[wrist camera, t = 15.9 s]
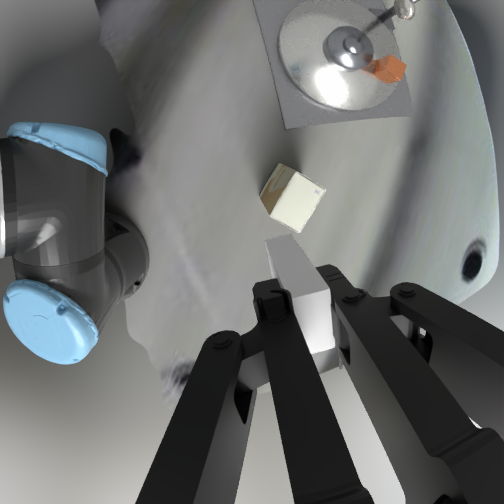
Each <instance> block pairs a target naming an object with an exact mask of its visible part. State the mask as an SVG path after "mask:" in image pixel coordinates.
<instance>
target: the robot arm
mask: <svg viewBox="0 0 504 504" xmlns="http://www.w3.org/2000/svg"><path fill="white" fill-rule="evenodd" d="M7 137H8V138H2V139H0V258H4V257H8V256H11V255H12V260H13V267H14V273H15V281H14V282H12V283H11V284H10V285H9V286H8V289H7V293H6V294H5V296H4V300H3V308H4V313H5V316H6V319H7V321H8V324H9V326H10V327H11V329H12V331H13V332H14V334H15V335H16V336H17V338H18V339H19V340H20V341H21V342H22V343H23V344H24V345H25V346H27V347H28V348H29V349H30V350H31V351H32V352H34V353H35V354H37V355H38V356H40V357H42V358H44V359H46V360H48V361H51V362H54V363H58V364H73V363H76V362H79V361H80V360H82V359H83V358H84V357H85V356H86V355H87V354H88V353H89V351H90V350H91V349H92V347H93V346H95V344H96V343H97V341H98V337H99V335H100V333H101V331H102V329H103V328H104V326H105V324H106V322H107V320H108V319H109V317H110V315H111V314H112V312H113V310H114V308H115V307H116V305H117V303H119V302H121V301H123V300H125V299H127V298H129V297H130V296H132V295H133V294H134V293H135V292H136V291H137V290H138V289H139V288H140V286H141V284H142V283H143V281H144V279H145V277H146V275H147V272H148V267H149V253H148V249H147V245H146V242H145V240H144V238H143V236H142V235H141V233H140V232H139V230H138V229H137V228H136V227H135V226H134V225H133V224H132V223H131V222H130V221H129V220H127V219H126V218H124V217H122V216H120V215H118V214H115V213H111V212H105V181H106V177H107V175H108V172H107V170H106V154H107V146H106V141H105V139H104V137H103V136H102V135H101V134H99V133H97V132H96V131H93V130H90V129H86V128H82V127H78V126H72V125H65V124H57V123H45V122H44V123H38V122H35V123H34V122H18V123H14V124H12V125H11V126H10V128H9V131H8V132H7ZM265 245H266V250H267V254H268V259H269V264H270V269H271V274H272V278H273V279H270V280H266V281H262V282H257V283H255V285H254V287H253V289H252V290H253V295H254V300H253V304H254V308H255V312H256V316H257V320H258V323H257V325H256V326H255V327H254V328H253V329H252V330H251V331H249V332H247V333H246V334H243V335H241V336H240V335H239V334H238V333H237V332H235V331H228V330H225V331H220V332H217V333H215V334H212V335H211V336H210V337H208V338H207V339H206V341H205V342H204V344H203V346H202V348H201V351H200V353H199V355H198V358H197V360H196V362H195V365H194V367H193V369H192V371H191V374H190V376H189V378H188V381H187V383H186V385H185V388H184V390H183V392H182V395H181V397H180V399H179V402H178V404H177V406H176V409H175V411H174V413H173V416H172V418H171V420H170V423H169V425H168V427H167V430H166V432H165V434H164V437H163V439H162V441H161V444H160V446H159V448H158V451H157V453H156V455H155V458H154V461H153V463H152V465H151V468H150V470H149V473H148V474H147V477H146V479H145V482H144V484H143V487H142V489H141V491H140V493H139V496H138V498H137V501H136V503H135V504H234V503H235V498H236V493H237V489H238V485H239V480H240V475H241V471H242V466H243V461H244V456H245V451H246V446H247V441H248V436H249V431H250V426H251V421H252V415H253V411H254V406H255V400H256V395H257V388H258V387H260V386H262V385H264V384H266V383H268V382H270V385H271V390H272V395H273V400H274V405H275V410H276V415H277V420H278V425H279V430H280V435H281V440H282V445H283V450H284V455H285V460H286V464H287V469H288V473H289V479H290V483H291V488H292V493H293V498H294V503H295V504H374V501H373V499H372V497H371V495H370V493H369V491H368V490H367V489H366V488H364V487H363V486H362V484H361V482H360V480H359V477H358V474H357V472H356V469H355V466H354V464H353V461H352V458H351V456H350V453H349V450H348V448H347V445H346V442H345V440H344V437H343V435H342V432H341V429H340V427H339V424H338V422H337V419H336V417H335V414H334V411H333V409H332V406H331V404H330V401H329V399H328V396H327V393H326V391H325V388H324V386H323V383H322V381H321V378H320V376H319V373H318V370H317V368H316V365H315V363H314V360H313V358H312V355H311V354H313V353H317V352H320V351H324V350H328V349H331V348H334V347H335V341H334V338H335V339H336V341H337V343H338V353H339V367H340V369H341V368H342V363H343V364H344V366H345V368H346V370H347V372H348V374H349V376H350V378H351V380H352V382H353V384H354V386H355V388H356V390H357V392H358V394H359V396H360V399H361V401H362V403H363V405H364V407H365V409H366V411H367V413H368V415H369V417H370V419H371V421H372V424H373V425H374V427H375V430H376V432H377V434H378V436H379V438H380V440H381V442H382V445H383V447H384V449H385V451H386V453H387V456H388V457H389V460H390V462H391V464H392V466H393V469H394V471H395V473H396V475H397V477H398V480H399V482H400V484H401V486H402V489H403V491H404V494H405V498H406V504H504V332H503V331H502V330H500V329H498V328H496V327H495V326H493V325H491V324H490V323H488V322H486V321H484V320H483V319H481V318H479V317H477V316H476V315H474V314H472V313H470V312H468V311H466V310H465V309H463V308H461V307H459V306H457V305H456V304H454V303H452V302H450V301H448V300H446V299H444V298H442V297H441V296H439V295H437V294H435V293H433V292H431V291H429V290H427V289H425V288H424V287H422V286H420V285H417V284H415V283H409V282H404V283H400V284H397V285H395V286H393V287H392V288H391V290H390V296H388V297H375V298H373V297H372V296H371V295H370V294H369V293H368V292H367V291H365V290H363V289H359V288H354V287H353V285H352V284H351V283H350V282H349V281H348V280H347V278H346V277H345V276H344V275H343V274H342V273H341V271H340V270H339V269H338V268H337V267H335V266H332V265H330V264H328V265H324V266H320V267H316V268H315V267H314V265H313V264H312V262H311V261H310V260H309V258H308V257H307V255H306V254H305V253H304V251H303V250H302V248H301V247H300V246H299V244H298V243H297V241H296V240H295V239H294V237H293V236H292V235H291V234H290V235H285V236H281V237H277V238H272V239H268V240H265ZM420 327H421V328H423V329H424V330H426V335H425V336H424V335H422V334H420ZM469 417H470V418H471V419H472V420H473V421H474V422H476V423H477V424H478V425H479V426H480V427H482V428H481V429H479V428H477V427H476V426H475V425H474V424H473V423H472V422H471V420H470V419H469Z"/></svg>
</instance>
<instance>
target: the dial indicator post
mask: <svg viewBox="0 0 504 504" xmlns="http://www.w3.org/2000/svg"><path fill="white" fill-rule="evenodd" d="M418 1H419V0H395V2H394V6H393V7H391V8H390V9H388V10H382V9H373V8H369V10H370V12H371V13H373V14H374V15H375V16H376V17H377V18H378V19H379V20H381V21H382V23H383V24H384V25H385V26H386V27H387V28H388V29H392V30H394V29H395V28H394V25H393V22H392V19H391V17H393V16H394V15H396V14H397V16H398V17H399V18H401V19H405V20H411V19H412V18H413V17H414V15H415V5H414V3H416V2H418Z"/></svg>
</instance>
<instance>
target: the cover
mask: <svg viewBox="0 0 504 504" xmlns="http://www.w3.org/2000/svg"><path fill="white" fill-rule="evenodd" d="M323 53H324V56H325V58H326V59H327V61H328V62H329V63H330V64H331V65H332V66H333V67H335V68H336V69H338V70H340V71H344V72H354V71H357V70H359V69H361V68H363V67H365V66H367V65H368V64H369V63H370V62H371V61H372V59H373V56H374V49H373V45H372V43H371V41H370V39H369V38H368V37H367V36H366V35H365V34H364V33H363V32H362V31H360V30H359V29H357V28H354V27H351V26H340V27H338V28H336V29H334V30H333V31H332V32H331V33H330V34H329V35H328V36H327V37H326V38H325V40H324V42H323Z"/></svg>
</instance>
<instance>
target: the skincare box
mask: <svg viewBox="0 0 504 504" xmlns="http://www.w3.org/2000/svg"><path fill="white" fill-rule="evenodd" d="M325 191H326V189H325V188H324V187H322V186H321V185H319V184H318V183H316V182H315V181H313V180H311V179H310V178H308V177H306V176H305V175H303V174H301V173H299V172H298V171H296V170H294V169H292V168H290V167H287V166H285V165H283V164H281V163H279V164H278V165H277V167H276V168H275V170H274V171H273V173H272V174H271V176H270V178H269V179H268V181H267V183H266V185H265V186H264V188H263V190H262V192H261V194H260V196H259V197H260V199H261V201H262V202H263V204H264V206H265V208H266V210H267V211H268V213H269V215H270V217H272V218H273V219H275V220H277V221H278V222H280V223H282V224H283V225H285V226H287V227H288V228H290V229H292V230H294V231H295V232H297V233H300V232H301V230H302V229H303V227H304V226H305V224H306V222H307V221H308V219H309V218H310V216H311V215H312V213H313V211H314V210H315V208H316V206H317V205H318V203H319V201H320V200H321V198H322V196H323V195H324V193H325Z"/></svg>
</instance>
